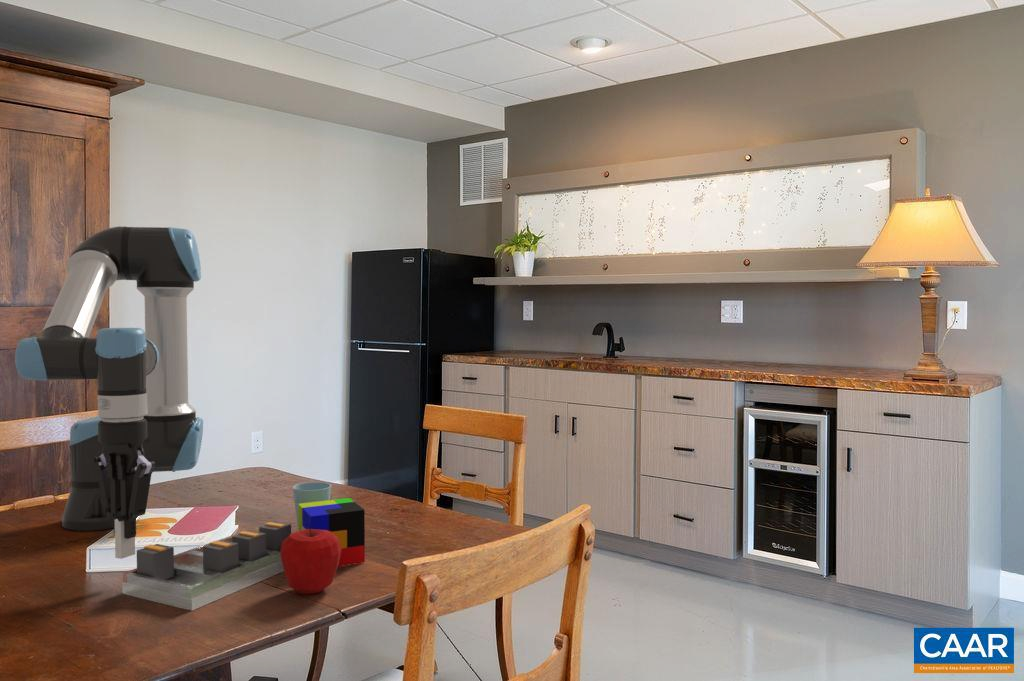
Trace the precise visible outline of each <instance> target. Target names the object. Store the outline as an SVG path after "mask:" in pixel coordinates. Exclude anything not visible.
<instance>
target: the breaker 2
mask: <svg viewBox="0 0 1024 681" xmlns="http://www.w3.org/2000/svg"><path fill="white" fill-rule="evenodd" d="M219 540H220V539H219ZM209 543H210V544H209ZM209 543H208V544H209V545H206V544H205V545H206V546H203V545H202V546H203V569H204V570H209V571H214V572H219V573H225V572H227V571H230V570H232V569H235V568H237V567H239V554H238V543H234V542H228V541H223V540H220V541H217V540H214V541H211V542H209Z"/></svg>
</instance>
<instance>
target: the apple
mask: <svg viewBox="0 0 1024 681" xmlns="http://www.w3.org/2000/svg"><path fill="white" fill-rule="evenodd" d="M341 550H342V549H341V546H340V543H339V540H338V538H337V537H336V536H335V535H334V534H333V533H332V532H331V531H327V530H317V529H310V528H309V529H304V530H300V531H298V530H296V531H294V532H291V534H290V535H289V536H288V537H287V538H286V539H285V540H284V541H283V542H282V546H281V551H280V555H281V560H282V564H283V569H284V571H283V572H284V574H285V578H286V581H287V583H288V585H289V588H291V589H292V590H294V591H296V592H297V593H300V594H303V595H309V594H317V593H321V592H322V591H324V590H325V589H326V588H328V587H329V586H330V585H331V584H332V583H333V581H334V578H335V575H336V573H337V569H338V567H339V566H338V564H339V559H340V554H341Z"/></svg>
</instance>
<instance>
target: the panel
mask: <svg viewBox="0 0 1024 681" xmlns="http://www.w3.org/2000/svg"><path fill="white" fill-rule="evenodd" d="M238 534H239V532H238V533H235V534H232V535H230V536H226V537H224V538H223V537H222V538H220V539H217V540H216V541H220V540H223V541H228V542H232V536H235V535H238ZM209 544H210V542H209V543H206V544H203V545H204V546H206V545H209ZM197 547H198V548H197ZM197 547H195V548H191V549H189V550H186V551H183V552H180V553H177V554H174V577H172V578H169V579H166V580H162V579H158V578H153V577H149V576H144V575H140V574H137V567H136V568H133V569H131V570H127V571H124V572H122V583H121V584H122V595H126V596H130V597H135V598H138V599H142V600H147V601H150V602H151V601H152V602H155V603H159V604H163V605H168V606H171V607H176V608H179V609H184V610H188V611H190V612H191V611H195V610H197V609H199V608H202V607H204V606H206V605H209V604H211V603H214V602H215V601H218V600H221V599H222V598H225V597H228V596H229V595H231V594H235V593H236V592H238V591H241V590H243V589H246V588H248V587H250V586H252V585H255V584H257V583H259V582H262V581H264V580H266V579H269V578H272V577H274V576H276V575H278V574H281V573H283V572H284V569H283V564H282V560H281V555H280V551H281V550H280V551H274V550H268V549H266V556H265V557H263V558H260V559H258V560H255V561H253V562H250V561H245V560H240V559H239V567H237V568H235V569H232V570H230V571H227V572H225V573H219V572H214V571H209V570H204V569H203V547H200V546H197ZM199 547H200V548H199Z"/></svg>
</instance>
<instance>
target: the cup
mask: <svg viewBox="0 0 1024 681" xmlns="http://www.w3.org/2000/svg"><path fill="white" fill-rule="evenodd" d="M331 490H332V484H331V483H328V482H322V481H310V482H309V481H307V482H301V483H297V484H295V485H293V487H292V491H293V498H294V506H295V507H294V508H295V515H296V516H295V517H296V523H297V526H298V504H301V503H309V502H318V501H327V500H330V499H331Z"/></svg>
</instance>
